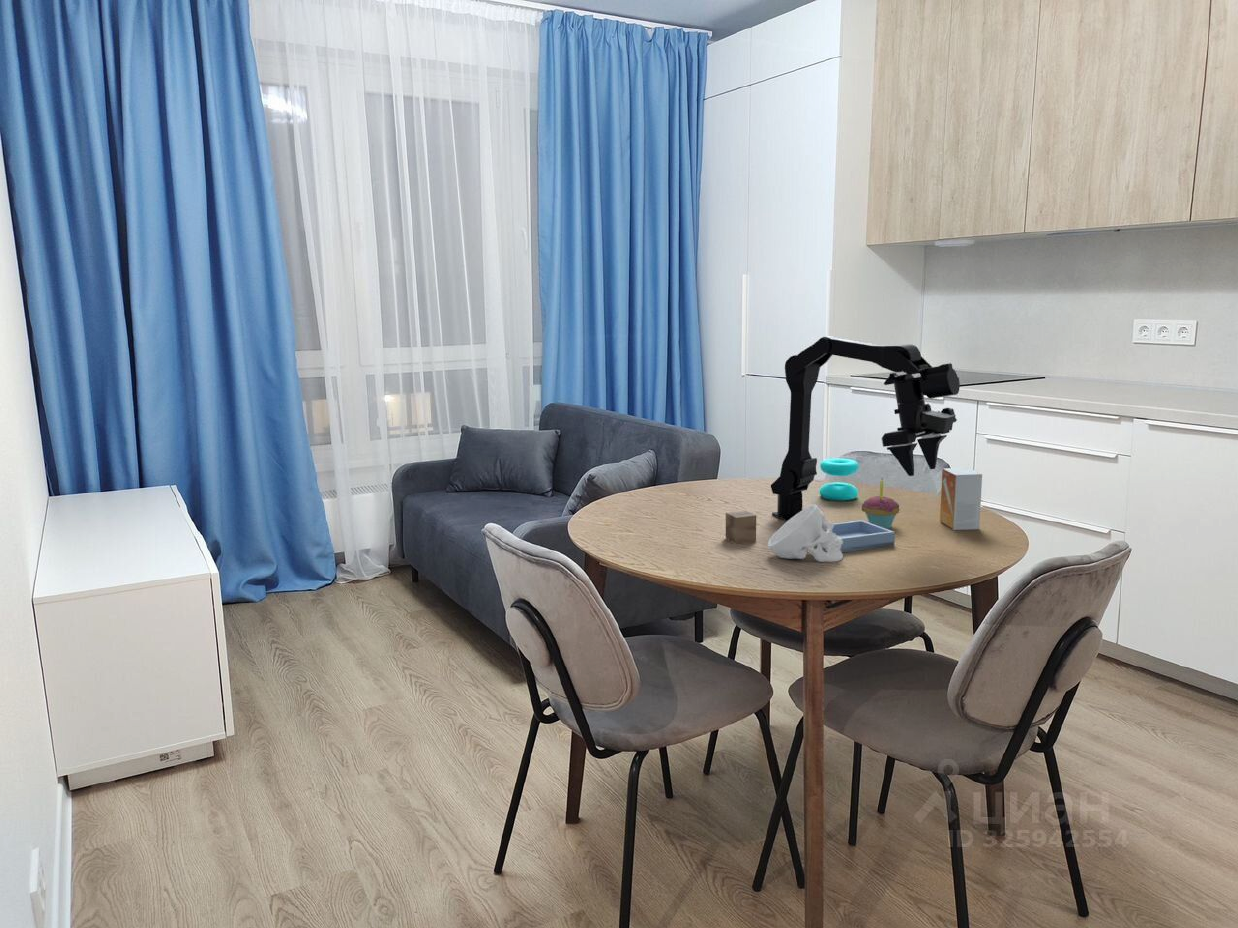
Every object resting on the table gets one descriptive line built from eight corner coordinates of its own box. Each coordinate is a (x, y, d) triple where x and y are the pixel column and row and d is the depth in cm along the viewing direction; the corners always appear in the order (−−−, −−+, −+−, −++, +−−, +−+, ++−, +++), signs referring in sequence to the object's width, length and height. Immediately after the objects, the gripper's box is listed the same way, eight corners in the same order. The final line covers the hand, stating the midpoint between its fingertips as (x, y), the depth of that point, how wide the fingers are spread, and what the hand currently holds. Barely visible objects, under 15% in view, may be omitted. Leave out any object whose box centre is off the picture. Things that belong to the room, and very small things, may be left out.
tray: (810, 539, 202) (810, 526, 202) (862, 532, 207) (862, 520, 206) (840, 552, 192) (841, 538, 191) (894, 545, 196) (894, 531, 196)
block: (725, 538, 205) (725, 512, 203) (745, 536, 206) (745, 510, 205) (736, 544, 200) (736, 517, 199) (756, 541, 202) (756, 515, 201)
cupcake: (900, 531, 207) (902, 480, 205) (862, 530, 209) (863, 479, 207) (896, 522, 216) (898, 473, 213) (860, 521, 217) (861, 472, 215)
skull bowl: (854, 559, 182) (821, 508, 181) (793, 592, 185) (761, 543, 184) (850, 544, 192) (819, 496, 191) (792, 576, 196) (762, 529, 195)
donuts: (850, 465, 234) (814, 462, 240) (849, 503, 236) (813, 498, 242) (864, 459, 242) (829, 456, 248) (863, 496, 244) (828, 492, 250)
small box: (939, 521, 216) (941, 467, 213) (965, 521, 216) (968, 467, 213) (952, 530, 208) (955, 474, 205) (980, 529, 208) (983, 473, 206)
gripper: (922, 401, 186) (934, 476, 186) (966, 392, 198) (977, 462, 199) (875, 409, 194) (887, 480, 195) (919, 399, 206) (930, 466, 207)
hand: (922, 472), depth 198 cm, fingers open, 9 cm apart
